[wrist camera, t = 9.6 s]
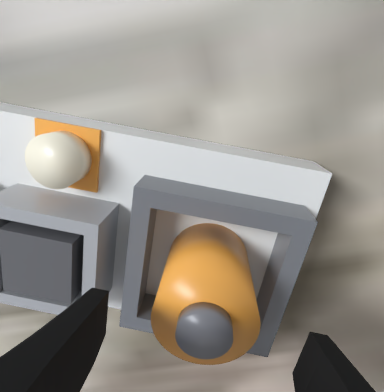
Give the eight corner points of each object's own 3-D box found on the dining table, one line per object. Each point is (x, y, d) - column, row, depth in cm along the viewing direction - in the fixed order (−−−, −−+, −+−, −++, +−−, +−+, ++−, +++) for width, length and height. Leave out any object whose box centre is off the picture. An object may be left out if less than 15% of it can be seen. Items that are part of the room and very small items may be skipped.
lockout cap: (237, 296, 15) (247, 388, 10) (164, 282, 15) (141, 367, 10) (255, 231, 13) (277, 302, 9) (175, 216, 14) (153, 279, 9)
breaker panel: (264, 308, 18) (280, 383, 13) (-58, 243, 19) (-151, 292, 14) (313, 161, 14) (359, 192, 10) (-85, 86, 15) (-222, 81, 10)
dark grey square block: (94, 271, 15) (71, 304, 13) (37, 259, 15) (3, 290, 13) (96, 218, 14) (72, 244, 11) (35, 206, 14) (-2, 228, 11)
